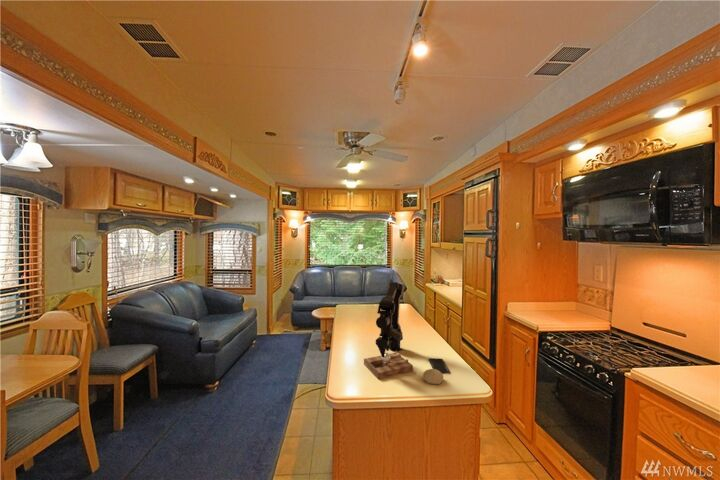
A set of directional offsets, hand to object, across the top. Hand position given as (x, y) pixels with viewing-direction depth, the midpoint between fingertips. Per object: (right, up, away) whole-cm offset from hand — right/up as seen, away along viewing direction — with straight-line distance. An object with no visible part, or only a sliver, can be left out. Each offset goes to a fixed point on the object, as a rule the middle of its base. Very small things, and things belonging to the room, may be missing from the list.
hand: (385, 353), depth 143 cm
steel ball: (0, -1, -3) cm, 3 cm away
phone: (+28, -8, +1) cm, 29 cm away
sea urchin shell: (+22, -8, -13) cm, 26 cm away
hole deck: (+1, -7, -2) cm, 7 cm away
